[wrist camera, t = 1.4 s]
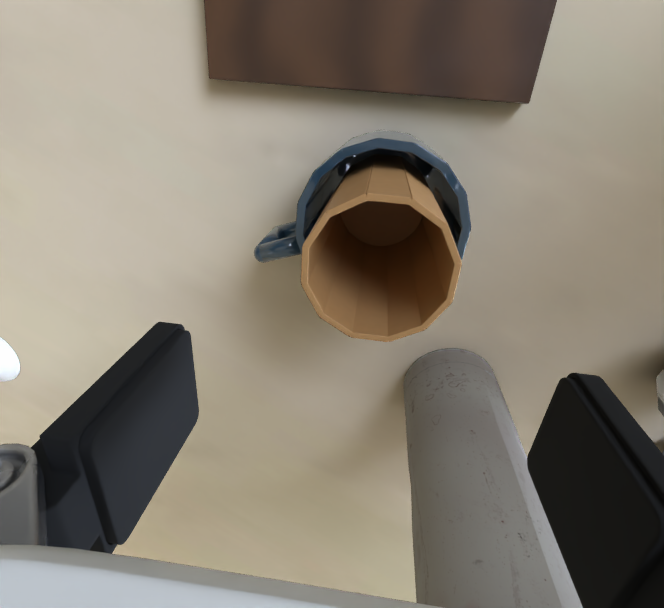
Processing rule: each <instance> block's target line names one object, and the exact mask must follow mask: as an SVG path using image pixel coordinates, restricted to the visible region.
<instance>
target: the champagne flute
mask: <svg viewBox="0 0 664 608" xmlns="http://www.w3.org/2000/svg"><path fill="white" fill-rule="evenodd" d="M19 372H20V362H19V359H18V357H17V355H16V353H15V352H14V350H13V349H12V348H11V346H10V345H9V344H8V343H7V342H6V341H4V340H3V339H2V338H1V337H0V381H10V380H13V379H15V378H16V377H17V376H18V374H19Z"/></svg>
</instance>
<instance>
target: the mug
mask: <svg viewBox="0 0 664 608" xmlns="http://www.w3.org/2000/svg"><path fill="white" fill-rule="evenodd" d="M375 154H378V155H389V156H400V157H402V158H404V159H405V160H406V161H408V162H409V163H410V164H412V165H413V166H414V167H415V168H417V169H418V170H419V171H421V173H422V174H423V176H424V178H425V180H426V182H427V184H428V186H429V188H430V190H431V192H432V194H433V196H434V198H435V200H436V202H437V204H438V206H439V208H440V210H441V212H442V213H443V215H444V217H445V219H446V221H447V223H448V225H449V228H450V231H451V234H452V236H453V239H454V242H455V245H456V247H457V250H458V253H459V256H460V258H461V261H462V259H463V255H464V252H465V248H466V245H467V241H468V238H469V234H470V231H471V222H470V215H469V207H468V200H467V194H466V192H465V190H464V188H463V187H462V185H461V184H460V182H459V181H458V179H457V177H456V176H455V174H454V173H453V171H452V170H451V168H450V166H449V165H448V163H447V162H446V161H445V160H444V159H443V158H441V157H440V156H439V155H438V154H437V153H436V152H435V151H434V150H433V149H432V148H431V147H429V146H428V145H426V144H425V143H423V142H422V141H420V140H418V139H417V138H415V137H414V136H412V135H410V134H408V133H401V132H397V131H386V130H377V131H374V132H370V133H366V134H363V135H360V136H357V137H354V138H352V139H350V140H349V141H348V142H346V143H345V144H344V145H343V146H342V147H340V148H339V149H338V150H337V151H336V152H335V153H333V154H332V155H331V156H330V157H329V158H328V159H327V160H326V161H324V162H323V163H322V164H321V165H320V166H319V167H318V168H317V169H316V170H315V171H314V172H313V174H312V176H311V177H310V179H309V181H308V183H307V185H306V187H305V189H304V191H303V193H302V195H301V197H300V199H299V201H298V204H297V218H296V221H294V222H290V223H286V224H283V225H279V226H275V227H274V228H273V229H272V230H271V231H270V232H269V233H268V234H267V235H266V237H265V238H264V239H263V240H262V241H261V242H260V243H259V244H258V245H257V246H256V248H255V250H254V256H255V258H256V259H257V260H258V261H259V262H263V263H264V262H269V261H274V260H278V259H282V258H286V257H291V256H295V255H299V254H301V255H302V246H303V243H304V242H305V240H306V238H307V237H308V235H309V233H310V232H311V230H312V228H313V227H314V225H315V223H316V222H317V220H318V218H319V217H320V215H321V213H322V212H323V210H324V208H325V206H326V205H327V203H328V201H329V200H330V198H331V196H332V195H333V193H334V191H335V190H336V188H337V186H338V185H339V183H340V182H341V180H342V179H343V177H344V176H345V174H346V173H347V171H348V170H349V168H350V167H351V166H352V165H354V164H356V163H358V162H360V161H362V160H364V159H366V158H368V157H370V156H372V155H375ZM422 218H423V217H422ZM421 221H422V219H421ZM421 221H420V222H421ZM348 231H349V230H348Z"/></svg>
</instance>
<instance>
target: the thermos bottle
mask: <svg viewBox="0 0 664 608" xmlns="http://www.w3.org/2000/svg"><path fill="white" fill-rule="evenodd" d="M404 402H405V415H406V433H407V450H408V465H409V473H410V481H411V500H412V533H413V550H414V566H415V583H416V599H417V603H419V604H425V605H431V606H437V607H443V608H583V607H582V604H581V602H580V599H579V597H578V594H577V592H576V589H575V587H574V584H573V582H572V579H571V577H570V574H569V572H568V569H567V567H566V564H565V562H564V559H563V557H562V554H561V552H560V549H559V547H558V544H557V542H556V539H555V537H554V534H553V531H552V529H551V526H550V524H549V521H548V519H547V516H546V514H545V511H544V509H543V506H542V504H541V501H540V499H539V496H538V494H537V491H536V489H535V486H534V484H533V481H532V479H531V476H530V474H529V471H528V467H527V456H526V454H525V452H524V449H523V446H522V444H521V441H520V438H519V435H518V432H517V430H516V427H515V424H514V422H513V419H512V417H511V414H510V412H509V409H508V407H507V404H506V402H505V399H504V397H503V394H502V392H501V389H500V387H499V384H498V381H497V379H496V376H495V374H494V372H493V369H492V368H491V367H490V365H489V364H488V363H487V362H486V361H485V360H484V359H483V358H481V357H480V356H478V355H476V354H474V353H472V352H469V351H466V350H461V349H442V350H436V351H433V352H430V353H428V354H426V355H424V356H422V357H420V358H419V359H418V360H417V361H416V362H414V363H413V365H412V366H411V367H410V368H409V370H408V372H407V374H406V376H405V380H404Z"/></svg>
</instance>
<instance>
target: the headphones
mask: <svg viewBox="0 0 664 608" xmlns="http://www.w3.org/2000/svg"><path fill="white" fill-rule="evenodd" d="M656 382H657V396H658V410H659V411H660V412H661V414H662V415H663V416H664V369H663V370H662V372H661V373H660V374H659V375H658V376H657V378H656ZM662 454H663V455H664V451H663V452H662Z"/></svg>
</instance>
